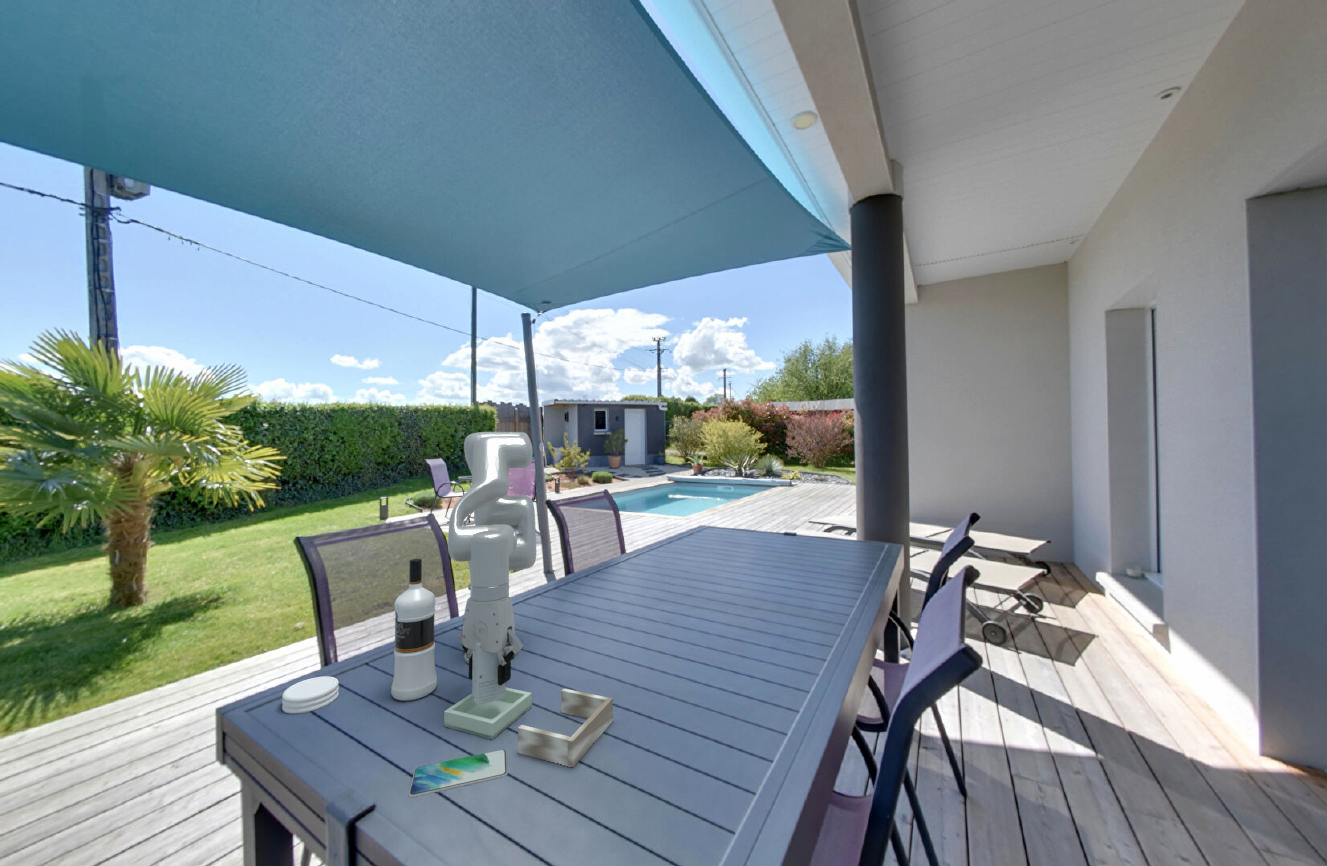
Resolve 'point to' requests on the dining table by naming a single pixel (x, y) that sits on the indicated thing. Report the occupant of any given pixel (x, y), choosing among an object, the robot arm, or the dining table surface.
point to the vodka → (414, 639)
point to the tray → (488, 714)
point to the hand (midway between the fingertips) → (489, 678)
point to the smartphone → (458, 773)
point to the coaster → (310, 695)
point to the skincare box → (486, 677)
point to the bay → (579, 743)
